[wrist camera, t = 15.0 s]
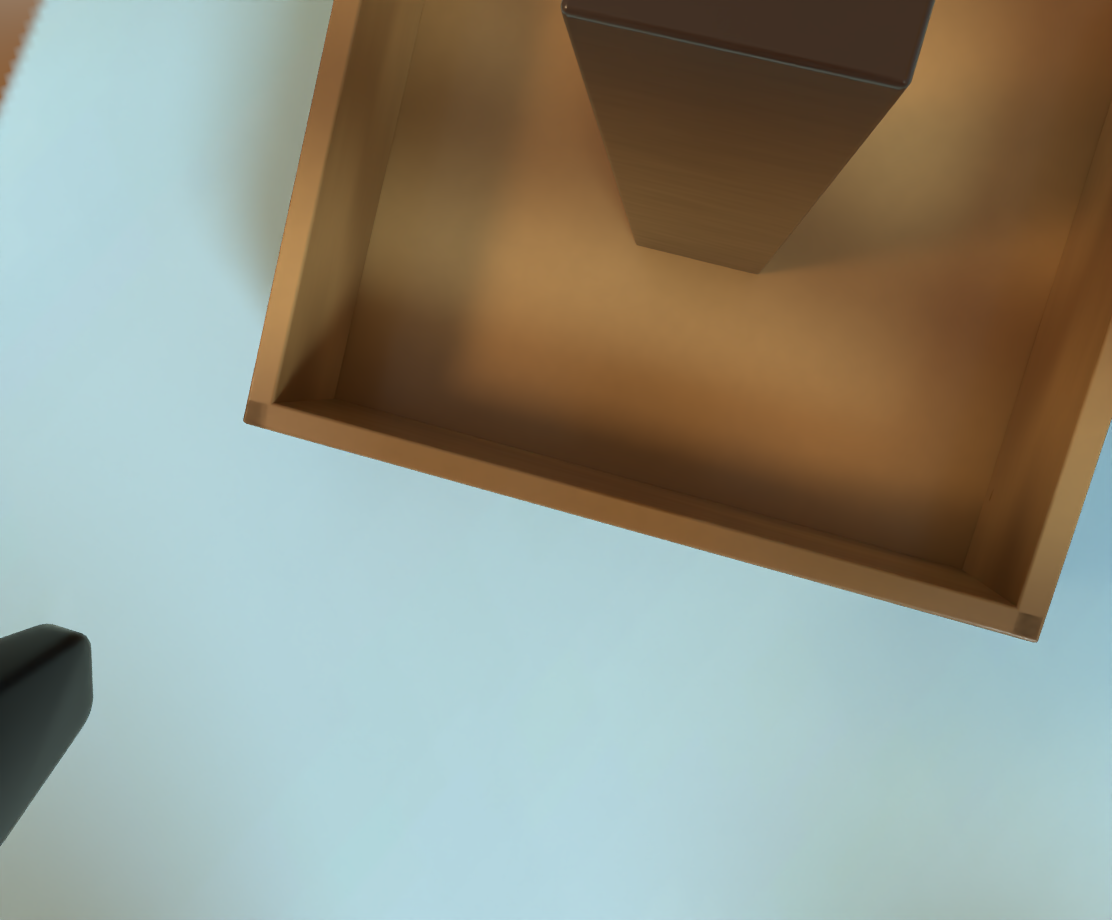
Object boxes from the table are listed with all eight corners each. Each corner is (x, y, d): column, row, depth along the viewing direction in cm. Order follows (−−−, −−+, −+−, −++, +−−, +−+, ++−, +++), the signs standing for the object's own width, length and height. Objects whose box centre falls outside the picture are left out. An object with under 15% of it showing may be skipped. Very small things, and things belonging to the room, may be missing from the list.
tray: (969, 593, 19) (1538, 1018, 6) (318, 414, 20) (-254, 475, 8) (1165, -19, 17) (2397, -1015, 5) (449, -165, 19) (2, -1220, 6)
